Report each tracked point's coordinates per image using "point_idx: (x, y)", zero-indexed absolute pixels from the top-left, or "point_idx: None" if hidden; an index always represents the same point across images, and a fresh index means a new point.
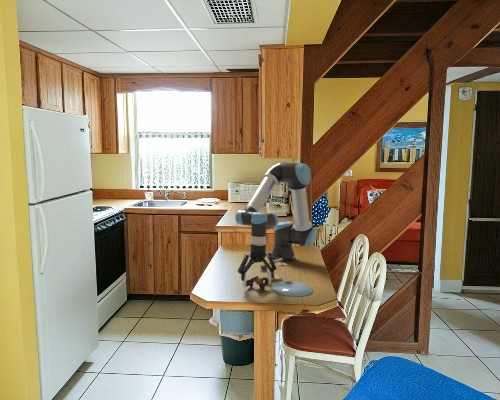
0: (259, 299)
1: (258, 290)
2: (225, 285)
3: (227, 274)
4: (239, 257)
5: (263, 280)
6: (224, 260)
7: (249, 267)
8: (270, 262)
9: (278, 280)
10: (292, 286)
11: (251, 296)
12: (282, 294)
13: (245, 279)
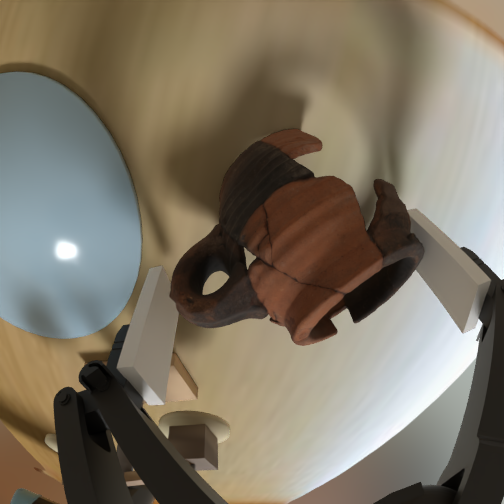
0: (319, 3)
1: (306, 137)
2: (445, 309)
3: (362, 417)
4: (256, 490)
5: (227, 280)
6: (312, 478)
7: (495, 372)
8: (117, 492)
9: (104, 362)
10: (10, 260)
11: (374, 83)
12: (74, 95)
13: (454, 250)
